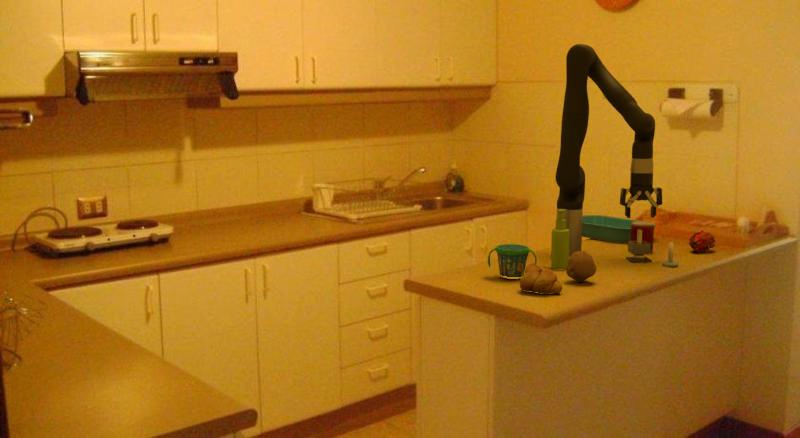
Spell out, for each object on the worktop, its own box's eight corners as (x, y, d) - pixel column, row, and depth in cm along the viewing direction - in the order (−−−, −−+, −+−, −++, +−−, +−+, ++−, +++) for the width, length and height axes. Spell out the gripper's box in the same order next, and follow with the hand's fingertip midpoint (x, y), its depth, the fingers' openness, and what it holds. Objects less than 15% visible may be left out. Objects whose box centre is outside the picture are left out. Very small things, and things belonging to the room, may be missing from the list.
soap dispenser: (571, 266, 290) (572, 208, 287) (566, 270, 284) (567, 211, 280) (554, 264, 292) (555, 207, 289) (549, 268, 286) (550, 210, 283)
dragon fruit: (712, 254, 317) (694, 263, 310) (695, 238, 321) (677, 247, 314) (724, 238, 312) (706, 247, 305) (707, 222, 316) (688, 231, 309)
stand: (631, 263, 295) (633, 231, 293) (625, 258, 301) (626, 228, 300) (651, 262, 295) (653, 231, 293) (645, 258, 302) (646, 228, 300)
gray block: (633, 254, 295) (633, 244, 294) (627, 250, 301) (628, 241, 300) (650, 254, 295) (650, 244, 294) (644, 250, 301) (644, 241, 300)
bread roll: (567, 292, 254) (568, 266, 252) (551, 299, 246) (552, 272, 245) (529, 286, 262) (530, 261, 260) (513, 292, 254) (513, 266, 253)
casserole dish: (666, 240, 338) (667, 222, 337) (633, 247, 324) (633, 229, 323) (591, 229, 366) (591, 212, 365) (557, 235, 352) (557, 218, 351)
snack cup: (538, 275, 276) (539, 245, 274) (533, 283, 266) (534, 251, 264) (491, 272, 281) (491, 242, 279) (484, 279, 271) (485, 248, 269)
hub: (665, 267, 287) (666, 244, 286) (660, 264, 292) (661, 241, 291) (680, 267, 287) (681, 244, 286) (674, 264, 292) (676, 241, 291)
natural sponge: (601, 282, 266) (602, 251, 265) (585, 287, 260) (586, 255, 258) (577, 277, 273) (578, 247, 271) (561, 282, 266) (561, 251, 265)
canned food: (653, 254, 309) (654, 225, 307) (630, 254, 310) (632, 224, 309) (651, 250, 316) (652, 221, 314) (629, 250, 318) (630, 221, 316)
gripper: (624, 172, 289) (623, 219, 292) (666, 171, 290) (664, 218, 292) (618, 170, 297) (617, 216, 299) (658, 169, 297) (656, 215, 300)
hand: (640, 217), depth 296 cm, fingers open, 8 cm apart
